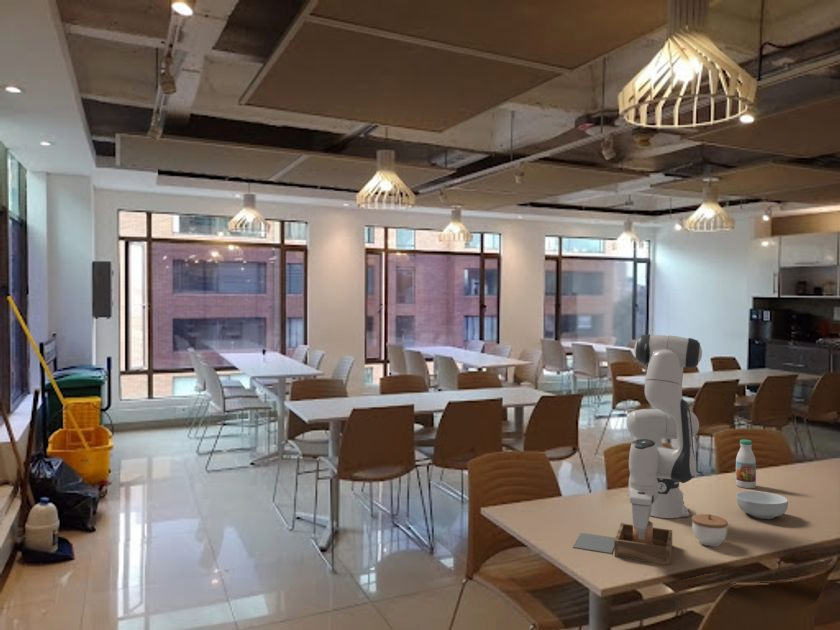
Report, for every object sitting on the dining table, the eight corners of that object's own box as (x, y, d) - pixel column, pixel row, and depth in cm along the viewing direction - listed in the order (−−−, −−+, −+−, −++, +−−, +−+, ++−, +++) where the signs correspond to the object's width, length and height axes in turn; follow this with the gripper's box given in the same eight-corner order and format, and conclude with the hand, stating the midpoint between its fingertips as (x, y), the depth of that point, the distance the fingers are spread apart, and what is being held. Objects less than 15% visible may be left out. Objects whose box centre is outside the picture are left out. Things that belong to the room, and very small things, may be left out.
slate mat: (580, 533, 213) (580, 532, 213) (617, 538, 208) (617, 538, 208) (572, 547, 201) (572, 546, 201) (611, 553, 196) (611, 552, 196)
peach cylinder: (633, 539, 203) (633, 518, 203) (653, 542, 200) (653, 520, 200) (631, 546, 197) (631, 524, 197) (651, 549, 195) (651, 527, 195)
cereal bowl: (763, 507, 242) (763, 489, 242) (799, 521, 226) (799, 501, 226) (726, 510, 238) (726, 492, 238) (759, 525, 222) (759, 505, 222)
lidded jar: (717, 536, 211) (717, 509, 210) (734, 549, 200) (734, 519, 200) (685, 537, 210) (685, 509, 210) (701, 549, 199) (701, 520, 199)
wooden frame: (620, 537, 209) (620, 523, 209) (672, 545, 203) (672, 530, 203) (614, 556, 194) (614, 540, 194) (669, 564, 187) (669, 548, 187)
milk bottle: (731, 484, 274) (732, 438, 274) (748, 483, 275) (748, 438, 275) (742, 489, 266) (743, 442, 266) (759, 488, 267) (760, 441, 267)
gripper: (636, 481, 209) (636, 522, 210) (629, 499, 191) (628, 544, 191) (656, 484, 207) (656, 525, 207) (650, 502, 188) (650, 547, 188)
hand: (642, 534), depth 199 cm, fingers closed on peach cylinder, 6 cm apart
